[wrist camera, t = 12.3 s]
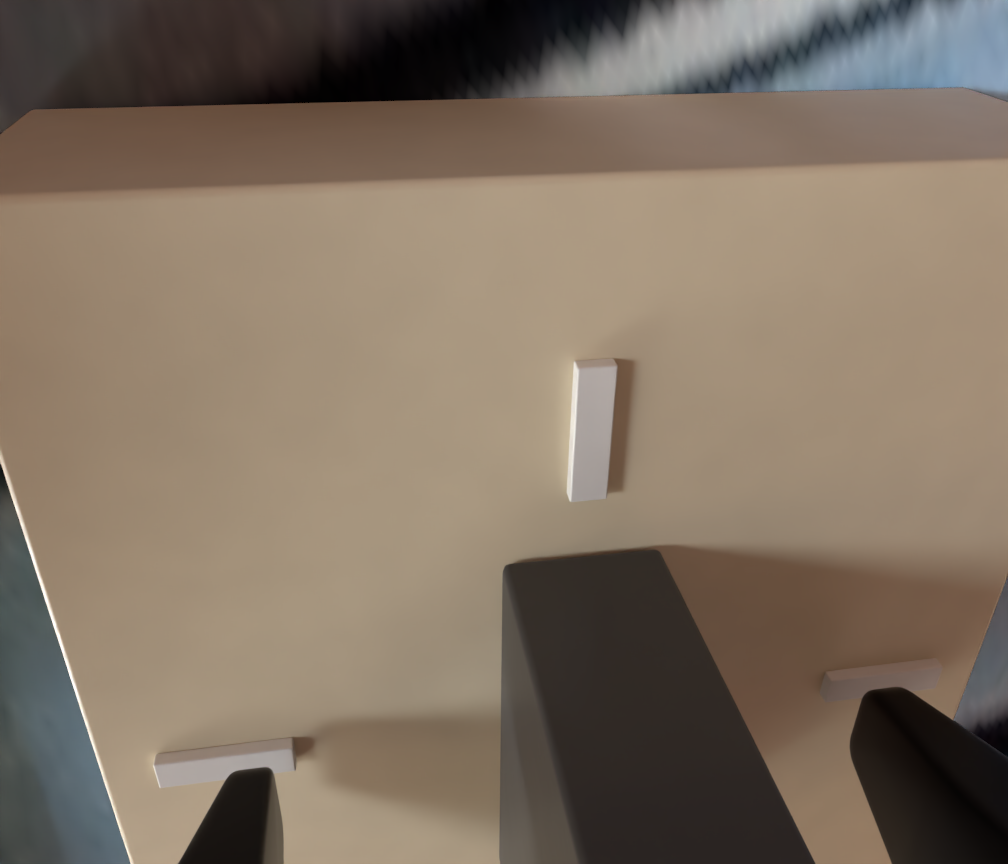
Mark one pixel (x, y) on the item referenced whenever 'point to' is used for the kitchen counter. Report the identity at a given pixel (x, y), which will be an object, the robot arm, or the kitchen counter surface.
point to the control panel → (497, 427)
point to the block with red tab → (624, 727)
